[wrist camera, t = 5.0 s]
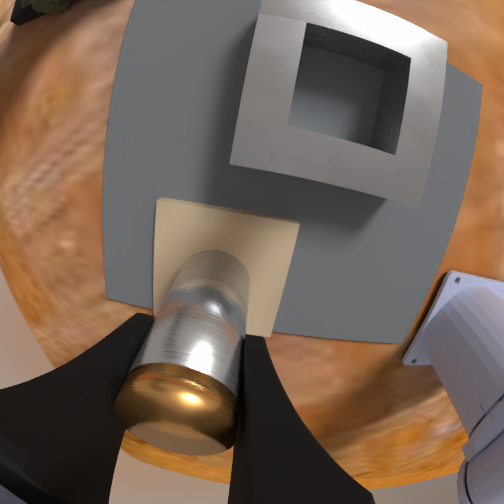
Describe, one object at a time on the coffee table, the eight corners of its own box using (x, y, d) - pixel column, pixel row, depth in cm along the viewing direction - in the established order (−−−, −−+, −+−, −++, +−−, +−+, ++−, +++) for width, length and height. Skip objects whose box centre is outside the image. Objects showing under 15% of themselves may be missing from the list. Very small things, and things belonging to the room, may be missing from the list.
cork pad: (298, 220, 14) (299, 224, 14) (270, 330, 17) (270, 337, 16) (160, 197, 14) (156, 200, 13) (156, 310, 17) (153, 315, 16)
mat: (478, 85, 10) (482, 84, 10) (399, 340, 18) (401, 343, 17) (137, 2, 10) (135, -1, 9) (109, 295, 17) (107, 298, 16)
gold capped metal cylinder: (258, 260, 13) (251, 413, 6) (240, 318, 14) (223, 462, 7) (185, 241, 13) (107, 373, 5) (176, 301, 14) (119, 435, 7)
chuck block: (417, 54, 10) (447, 42, 7) (391, 192, 13) (419, 208, 10) (266, 8, 10) (266, -20, 7) (236, 157, 13) (229, 164, 10)
